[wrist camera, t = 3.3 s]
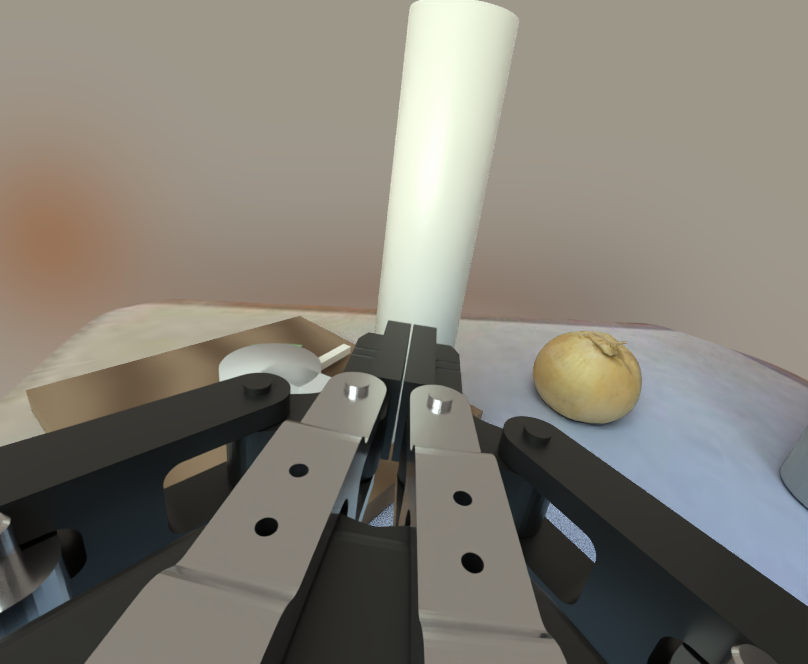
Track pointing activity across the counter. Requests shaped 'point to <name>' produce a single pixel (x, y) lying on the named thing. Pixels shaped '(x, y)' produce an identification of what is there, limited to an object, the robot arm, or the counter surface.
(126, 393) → the brown flat square piece
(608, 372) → the onion
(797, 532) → the counter surface
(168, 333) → the counter surface
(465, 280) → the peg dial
